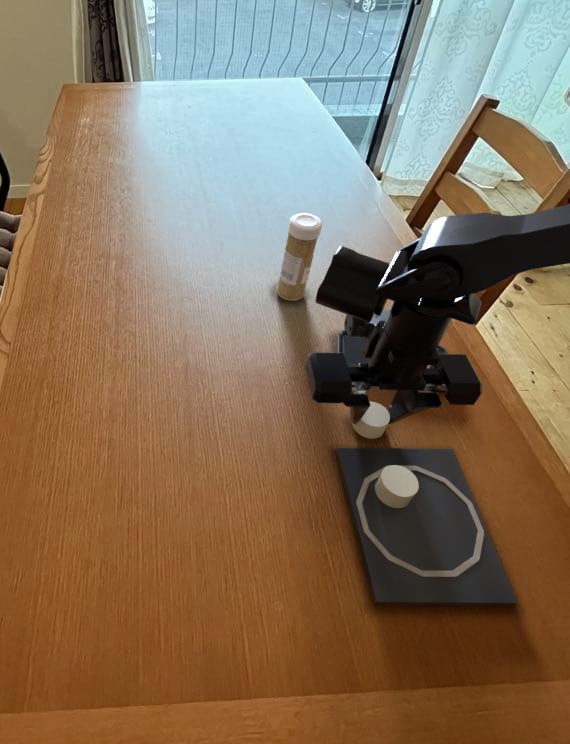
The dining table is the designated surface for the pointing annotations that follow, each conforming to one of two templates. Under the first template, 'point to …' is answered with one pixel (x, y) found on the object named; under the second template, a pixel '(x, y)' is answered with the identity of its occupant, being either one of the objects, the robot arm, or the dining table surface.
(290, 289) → the sprinkles bottle
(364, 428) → the cream round box
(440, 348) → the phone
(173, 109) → the dining table surface
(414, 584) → the slate
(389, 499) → the white round puck
